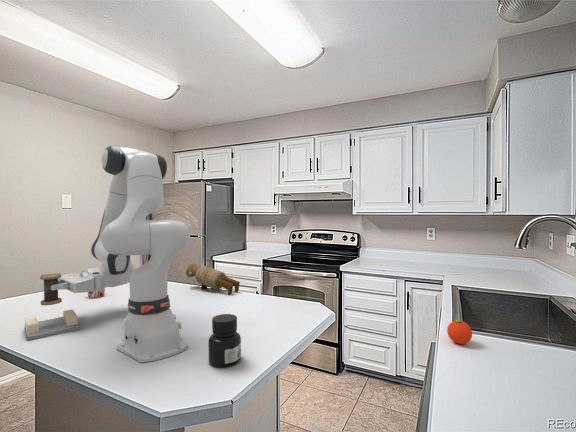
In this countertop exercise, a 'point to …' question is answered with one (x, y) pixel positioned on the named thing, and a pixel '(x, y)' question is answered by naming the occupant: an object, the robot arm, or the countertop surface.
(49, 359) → the countertop surface
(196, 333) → the countertop surface
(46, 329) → the terminal board
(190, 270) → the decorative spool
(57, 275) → the bobbin
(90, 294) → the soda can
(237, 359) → the ink bottle
